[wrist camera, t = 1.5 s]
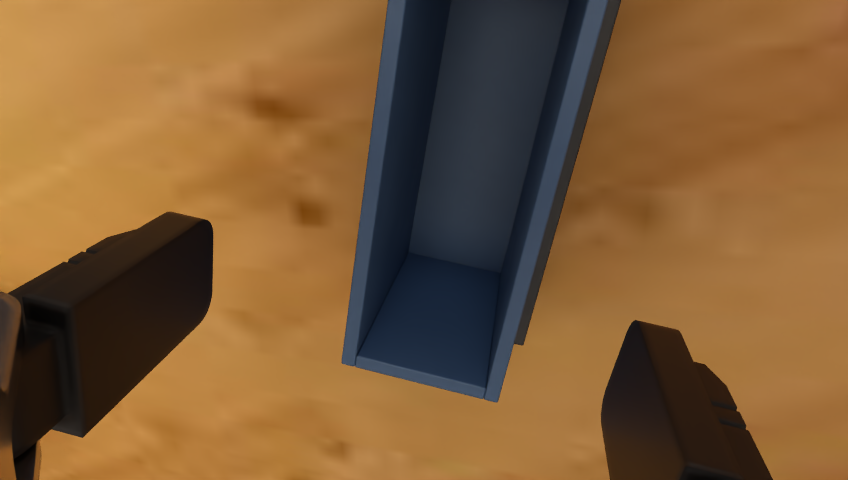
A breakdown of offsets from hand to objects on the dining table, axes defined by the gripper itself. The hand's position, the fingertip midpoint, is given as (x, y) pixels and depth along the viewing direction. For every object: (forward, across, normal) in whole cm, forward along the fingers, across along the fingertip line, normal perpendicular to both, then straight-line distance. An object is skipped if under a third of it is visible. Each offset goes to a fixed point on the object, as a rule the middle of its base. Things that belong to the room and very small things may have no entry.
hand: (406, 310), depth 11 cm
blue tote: (+16, 0, 0) cm, 16 cm away
